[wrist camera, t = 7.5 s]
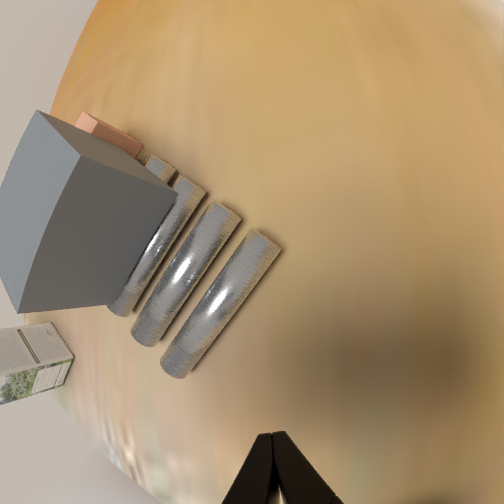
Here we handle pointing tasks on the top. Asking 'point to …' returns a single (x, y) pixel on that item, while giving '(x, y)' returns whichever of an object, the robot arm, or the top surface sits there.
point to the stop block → (108, 133)
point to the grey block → (74, 217)
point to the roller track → (191, 275)
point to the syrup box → (31, 361)
